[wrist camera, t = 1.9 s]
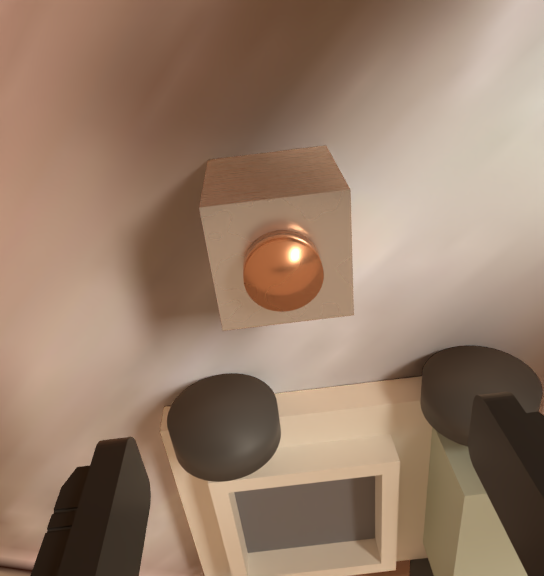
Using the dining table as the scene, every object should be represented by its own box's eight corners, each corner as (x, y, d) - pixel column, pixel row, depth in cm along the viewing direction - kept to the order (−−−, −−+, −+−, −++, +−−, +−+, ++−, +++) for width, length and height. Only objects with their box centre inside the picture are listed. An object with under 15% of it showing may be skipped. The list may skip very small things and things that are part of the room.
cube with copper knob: (326, 144, 23) (355, 199, 17) (331, 250, 26) (358, 329, 20) (208, 159, 23) (196, 218, 17) (226, 263, 26) (222, 345, 20)
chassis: (526, 338, 30) (599, 426, 24) (487, 539, 40) (531, 637, 34) (156, 381, 30) (135, 481, 24) (212, 571, 40) (208, 674, 34)
